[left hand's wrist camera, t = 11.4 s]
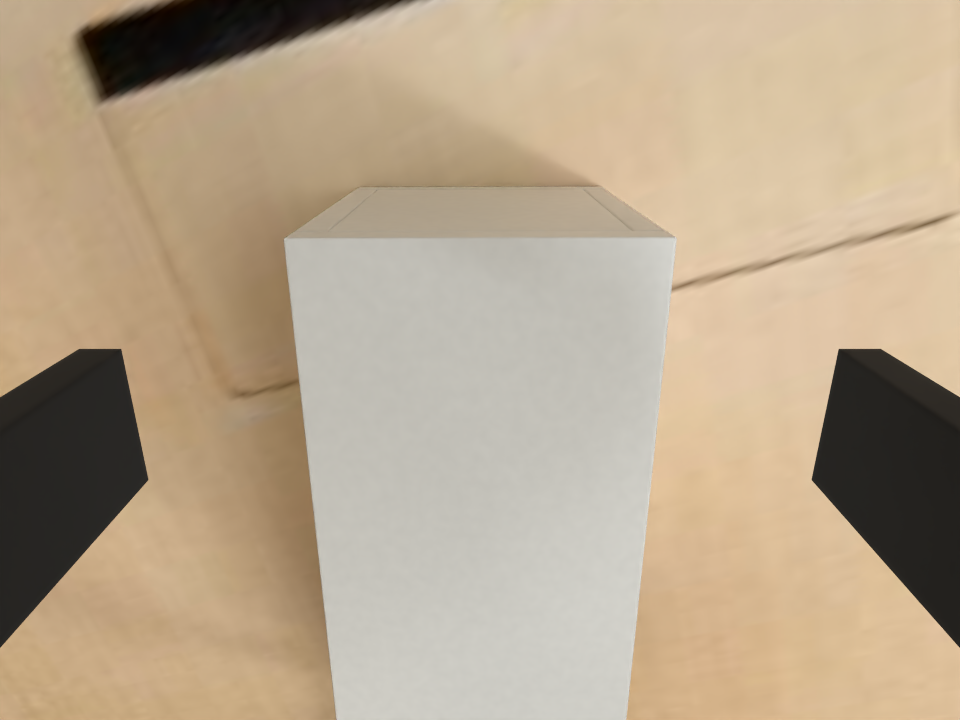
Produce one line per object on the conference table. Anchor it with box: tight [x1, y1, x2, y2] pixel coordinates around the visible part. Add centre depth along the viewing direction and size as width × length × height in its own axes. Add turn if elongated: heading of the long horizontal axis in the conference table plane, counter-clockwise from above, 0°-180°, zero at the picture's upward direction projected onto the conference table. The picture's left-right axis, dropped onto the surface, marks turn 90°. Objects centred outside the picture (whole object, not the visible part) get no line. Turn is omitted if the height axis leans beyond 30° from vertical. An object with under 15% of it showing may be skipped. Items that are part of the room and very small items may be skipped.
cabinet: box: [284, 186, 677, 720], centre depth 25 cm, size 19×10×11 cm, turn 0°
